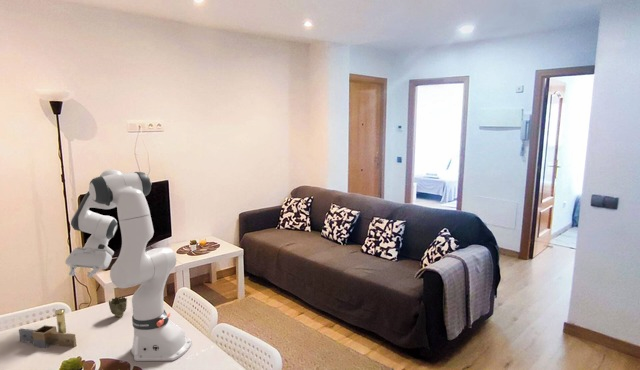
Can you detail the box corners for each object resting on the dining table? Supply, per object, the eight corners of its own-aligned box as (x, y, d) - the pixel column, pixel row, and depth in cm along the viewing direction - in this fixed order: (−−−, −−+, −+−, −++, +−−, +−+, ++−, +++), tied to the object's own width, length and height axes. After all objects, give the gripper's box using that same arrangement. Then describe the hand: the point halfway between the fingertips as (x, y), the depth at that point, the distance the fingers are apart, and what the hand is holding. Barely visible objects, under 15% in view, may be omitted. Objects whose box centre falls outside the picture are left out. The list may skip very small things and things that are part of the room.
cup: (120, 321, 173) (119, 304, 172) (106, 319, 174) (104, 302, 173) (131, 313, 180) (130, 297, 179) (117, 311, 182) (116, 295, 180)
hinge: (81, 342, 156) (79, 328, 155) (69, 350, 150) (68, 336, 149) (27, 336, 160) (25, 323, 160) (14, 344, 155) (13, 330, 154)
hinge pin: (69, 331, 165) (67, 309, 163) (62, 335, 161) (59, 313, 160) (62, 330, 165) (59, 308, 164) (55, 334, 162) (52, 312, 160)
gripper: (71, 243, 180) (55, 271, 172) (109, 246, 176) (95, 275, 168) (79, 249, 185) (64, 277, 177) (117, 252, 181) (104, 280, 173)
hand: (80, 276), depth 172 cm, fingers open, 8 cm apart
